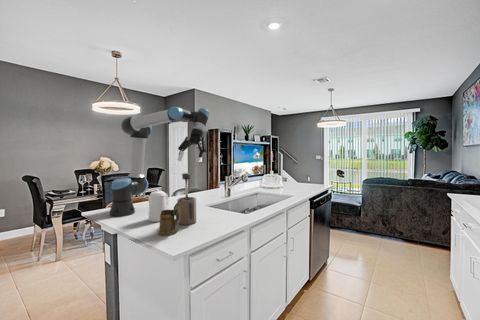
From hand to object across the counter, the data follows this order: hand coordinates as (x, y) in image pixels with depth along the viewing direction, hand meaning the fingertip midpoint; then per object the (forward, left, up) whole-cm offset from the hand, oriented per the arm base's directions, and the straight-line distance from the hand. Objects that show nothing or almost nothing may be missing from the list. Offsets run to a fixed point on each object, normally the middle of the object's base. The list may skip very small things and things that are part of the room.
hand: (188, 161), depth 142 cm
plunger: (+7, -5, -25) cm, 26 cm away
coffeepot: (-10, -16, -35) cm, 40 cm away
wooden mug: (+17, -19, -35) cm, 44 cm away
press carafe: (+8, -5, -35) cm, 36 cm away
